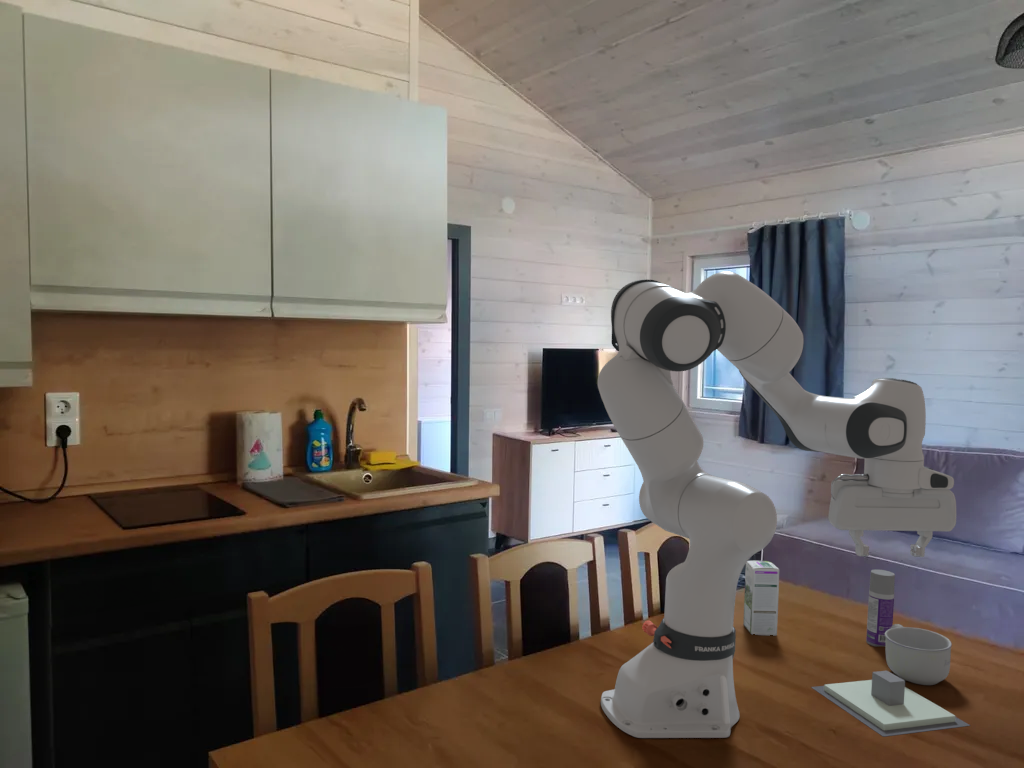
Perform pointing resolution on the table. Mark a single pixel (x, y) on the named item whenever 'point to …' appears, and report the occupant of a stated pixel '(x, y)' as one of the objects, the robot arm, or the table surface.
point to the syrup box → (761, 598)
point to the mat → (895, 731)
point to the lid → (888, 702)
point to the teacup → (918, 654)
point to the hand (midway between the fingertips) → (889, 555)
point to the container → (880, 606)
